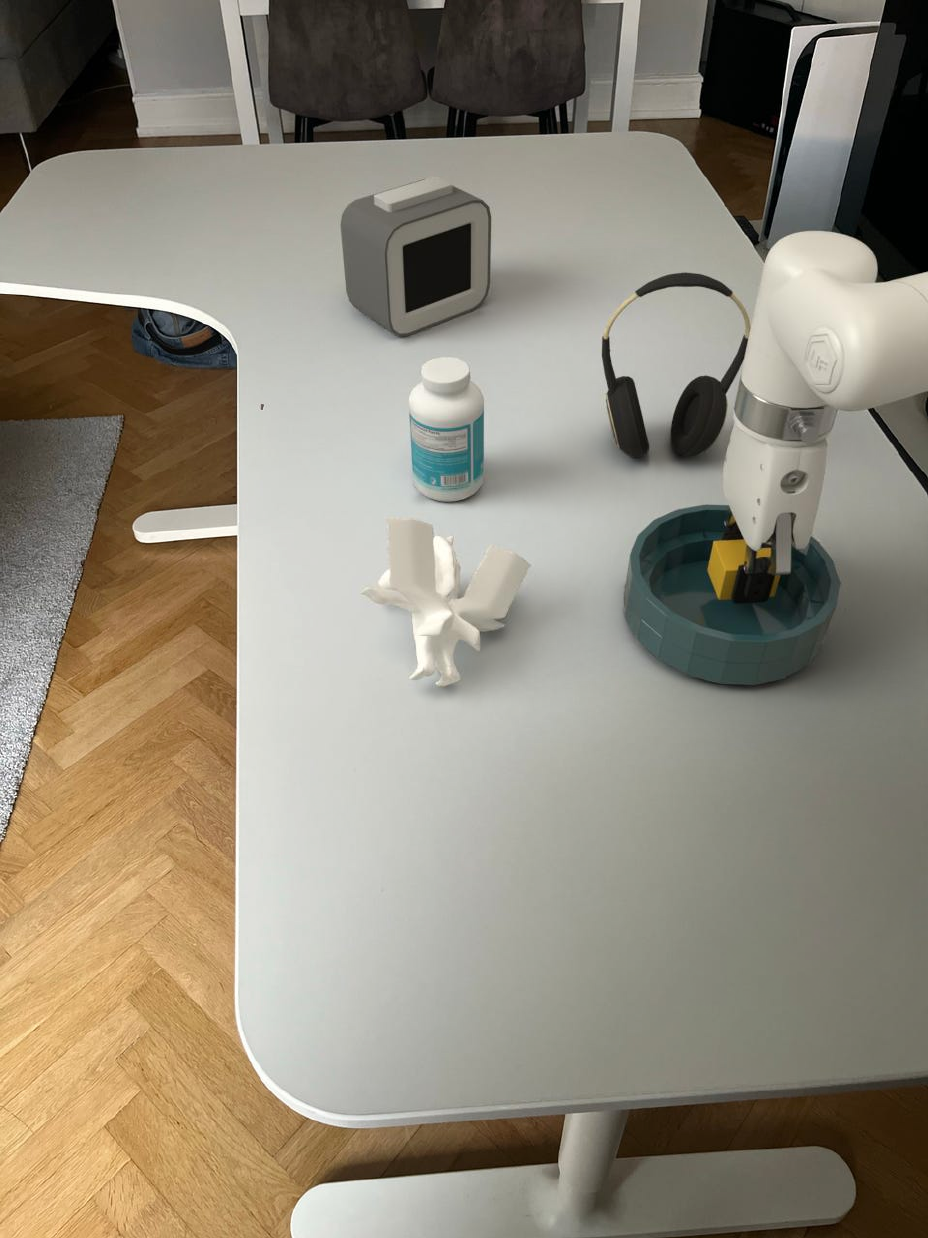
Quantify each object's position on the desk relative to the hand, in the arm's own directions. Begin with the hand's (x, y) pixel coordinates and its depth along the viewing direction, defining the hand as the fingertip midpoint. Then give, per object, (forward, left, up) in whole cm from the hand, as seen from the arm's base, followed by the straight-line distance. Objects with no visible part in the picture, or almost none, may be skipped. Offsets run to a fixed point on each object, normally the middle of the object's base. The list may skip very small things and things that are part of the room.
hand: (741, 580), depth 88 cm
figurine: (+19, +20, -3) cm, 28 cm away
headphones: (+18, -17, -3) cm, 25 cm away
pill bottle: (+32, +2, -3) cm, 33 cm away
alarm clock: (+60, -25, -3) cm, 65 cm away
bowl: (0, +2, -3) cm, 4 cm away
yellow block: (0, 0, 0) cm, 0 cm away
